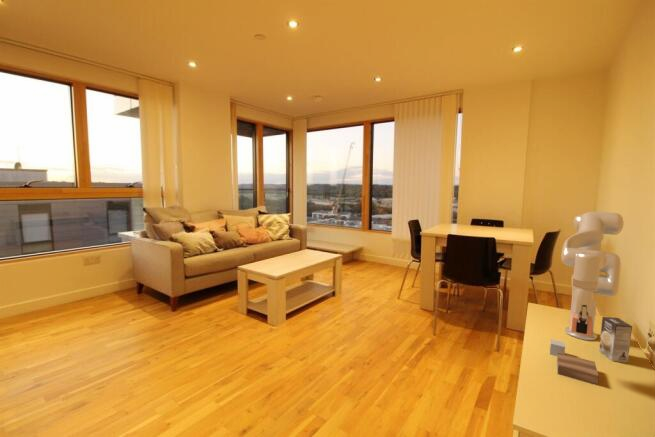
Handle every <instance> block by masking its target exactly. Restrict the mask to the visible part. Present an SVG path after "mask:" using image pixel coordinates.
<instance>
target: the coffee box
mask: <svg viewBox="0 0 655 437" xmlns="http://www.w3.org/2000/svg"><path fill="white" fill-rule="evenodd" d="M632 333H633V325H630V324H629V323H627V322H626V321H625V320H622V319H621V318H619V317H611V316H602V319H601V330H600V336H599V337H600V340H599V345H598V351H599V352H600V353H602V354H603V355H604V356H605V357H606V358H607V359H608V360H610V361H612V362H618V363H619V362H620V363H628V362H629V356H630V348H631V339H632Z"/></svg>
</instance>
